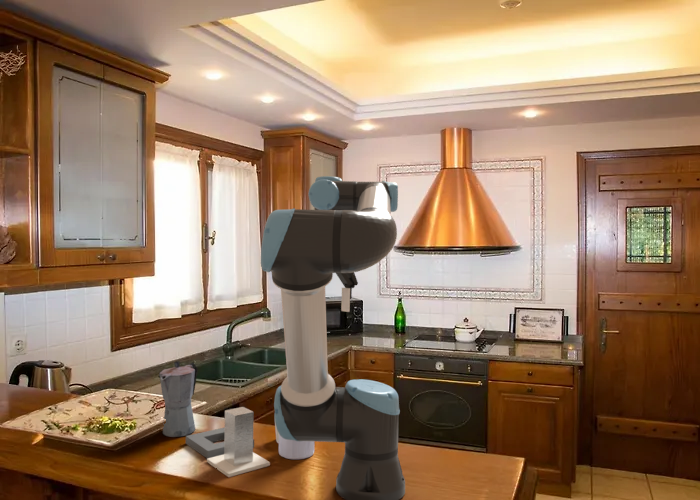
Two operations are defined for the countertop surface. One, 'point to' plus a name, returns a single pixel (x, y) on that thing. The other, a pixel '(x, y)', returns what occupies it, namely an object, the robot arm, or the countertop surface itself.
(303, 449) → the soap bottle
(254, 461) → the pad
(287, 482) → the countertop surface
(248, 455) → the steel peg
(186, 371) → the moka pot
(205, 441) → the socket frame
